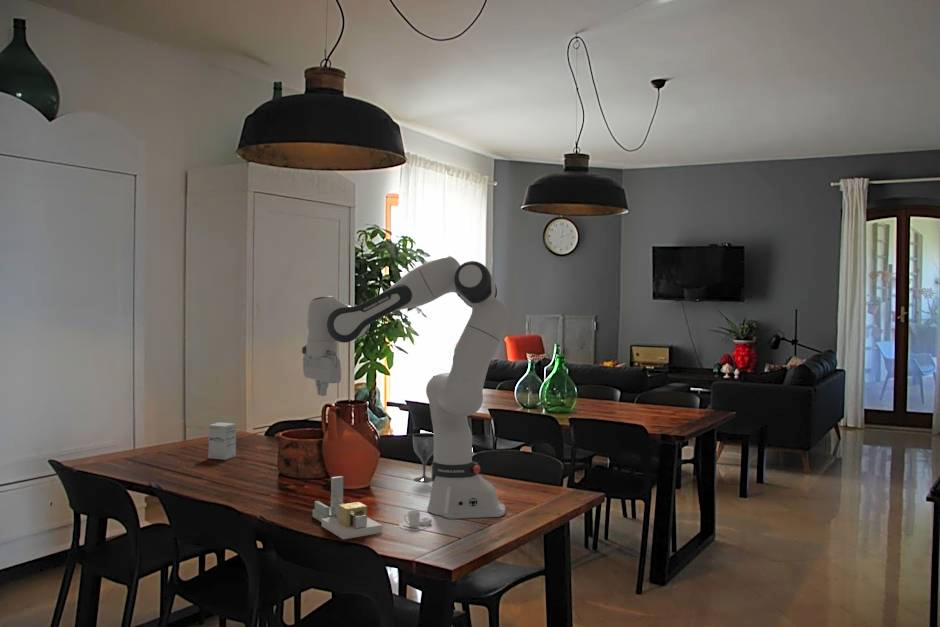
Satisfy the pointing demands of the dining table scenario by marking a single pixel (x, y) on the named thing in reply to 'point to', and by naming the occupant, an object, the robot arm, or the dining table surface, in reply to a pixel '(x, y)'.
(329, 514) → the grey blocky piece
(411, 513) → the teacup and saucer
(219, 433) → the supplement box
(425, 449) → the wine glass
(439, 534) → the dining table surface
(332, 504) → the grey l-shaped piece
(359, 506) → the block
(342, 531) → the white base plate
